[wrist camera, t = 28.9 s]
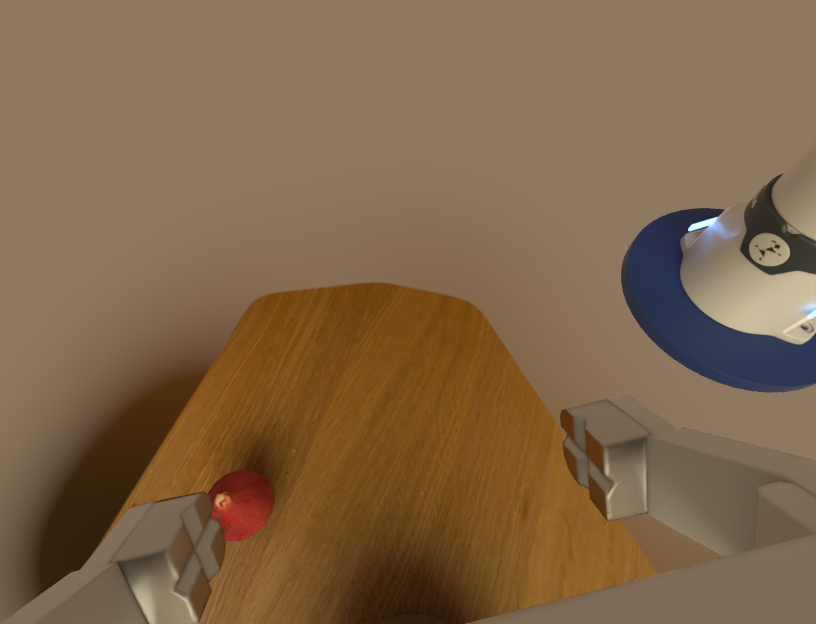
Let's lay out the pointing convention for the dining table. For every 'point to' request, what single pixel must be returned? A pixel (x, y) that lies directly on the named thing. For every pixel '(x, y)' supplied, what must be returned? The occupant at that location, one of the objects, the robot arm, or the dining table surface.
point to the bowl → (414, 619)
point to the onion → (241, 503)
